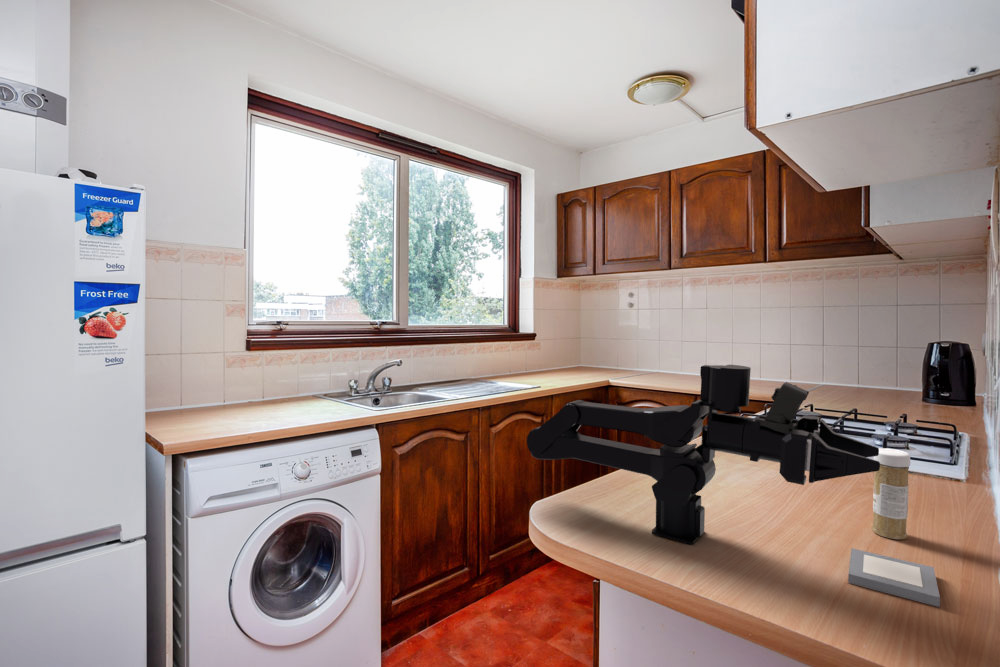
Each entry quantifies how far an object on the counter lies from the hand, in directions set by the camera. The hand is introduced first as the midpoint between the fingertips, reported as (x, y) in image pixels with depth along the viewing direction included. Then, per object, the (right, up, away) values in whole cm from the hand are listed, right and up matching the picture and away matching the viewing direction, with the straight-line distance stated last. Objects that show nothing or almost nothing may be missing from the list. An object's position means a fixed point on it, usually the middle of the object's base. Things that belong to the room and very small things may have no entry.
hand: (879, 458), depth 64 cm
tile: (+3, -16, +2) cm, 17 cm away
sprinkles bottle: (+13, -16, +15) cm, 26 cm away
